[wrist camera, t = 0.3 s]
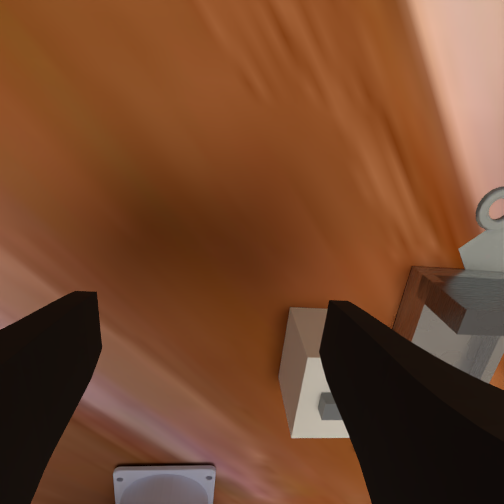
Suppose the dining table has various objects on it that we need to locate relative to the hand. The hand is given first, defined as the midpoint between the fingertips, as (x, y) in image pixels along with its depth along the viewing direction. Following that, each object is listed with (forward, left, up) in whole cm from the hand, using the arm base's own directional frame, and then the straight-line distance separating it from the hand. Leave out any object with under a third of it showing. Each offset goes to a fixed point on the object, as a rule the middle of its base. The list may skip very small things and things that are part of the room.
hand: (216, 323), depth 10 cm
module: (-8, -7, -10) cm, 15 cm away
